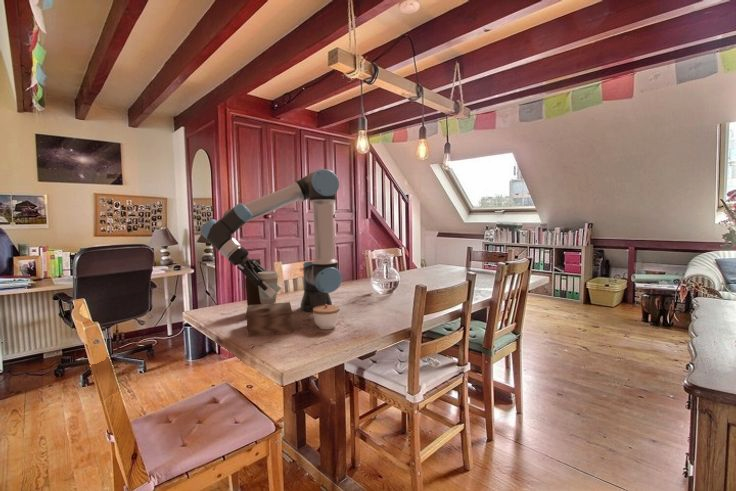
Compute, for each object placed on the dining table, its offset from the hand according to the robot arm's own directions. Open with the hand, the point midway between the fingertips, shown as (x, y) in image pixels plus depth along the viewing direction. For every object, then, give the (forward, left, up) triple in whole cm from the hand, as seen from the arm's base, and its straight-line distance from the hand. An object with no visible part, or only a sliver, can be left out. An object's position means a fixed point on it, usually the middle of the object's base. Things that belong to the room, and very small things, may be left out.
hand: (276, 292), depth 141 cm
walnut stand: (+3, -1, -14) cm, 15 cm away
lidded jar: (-19, +4, -15) cm, 24 cm away
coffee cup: (+3, -1, -4) cm, 5 cm away
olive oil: (+8, -27, -15) cm, 32 cm away
